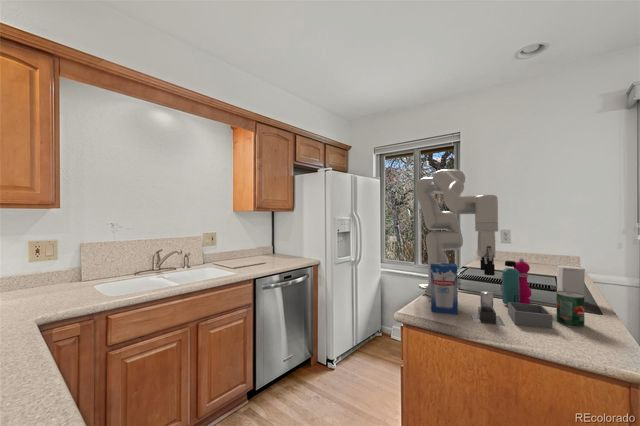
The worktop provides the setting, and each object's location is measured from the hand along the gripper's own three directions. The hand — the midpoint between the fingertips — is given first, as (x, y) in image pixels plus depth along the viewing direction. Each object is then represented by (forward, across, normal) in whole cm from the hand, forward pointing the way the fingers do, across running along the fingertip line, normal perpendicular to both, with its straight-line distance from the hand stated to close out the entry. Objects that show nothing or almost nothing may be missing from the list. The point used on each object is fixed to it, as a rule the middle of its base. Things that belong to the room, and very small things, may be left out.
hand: (487, 272), depth 108 cm
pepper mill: (+19, -30, +18) cm, 40 cm away
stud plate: (+19, -1, 0) cm, 19 cm away
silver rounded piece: (+18, 0, 0) cm, 18 cm away
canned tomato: (+19, -9, +28) cm, 35 cm away
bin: (+19, -4, +14) cm, 23 cm away
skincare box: (+19, -40, +39) cm, 59 cm away
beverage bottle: (+19, -22, +12) cm, 31 cm away
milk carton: (+19, -5, -15) cm, 25 cm away
